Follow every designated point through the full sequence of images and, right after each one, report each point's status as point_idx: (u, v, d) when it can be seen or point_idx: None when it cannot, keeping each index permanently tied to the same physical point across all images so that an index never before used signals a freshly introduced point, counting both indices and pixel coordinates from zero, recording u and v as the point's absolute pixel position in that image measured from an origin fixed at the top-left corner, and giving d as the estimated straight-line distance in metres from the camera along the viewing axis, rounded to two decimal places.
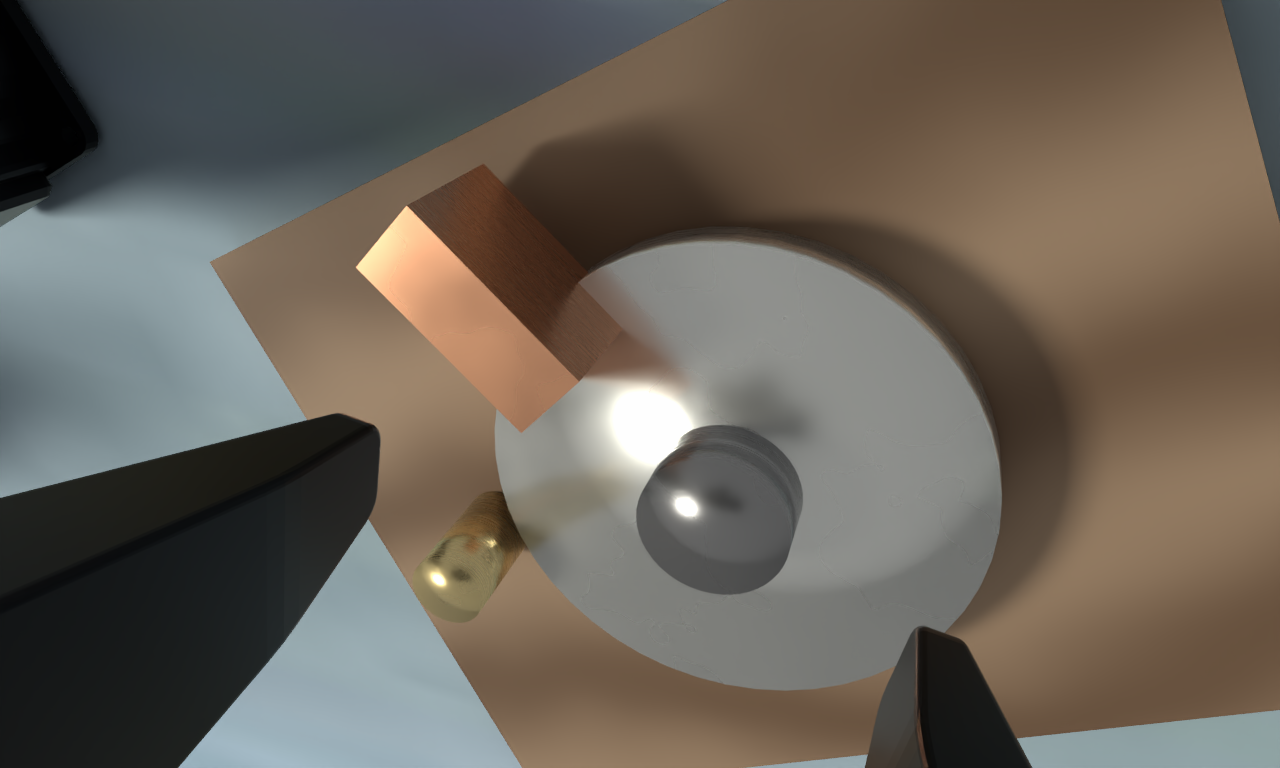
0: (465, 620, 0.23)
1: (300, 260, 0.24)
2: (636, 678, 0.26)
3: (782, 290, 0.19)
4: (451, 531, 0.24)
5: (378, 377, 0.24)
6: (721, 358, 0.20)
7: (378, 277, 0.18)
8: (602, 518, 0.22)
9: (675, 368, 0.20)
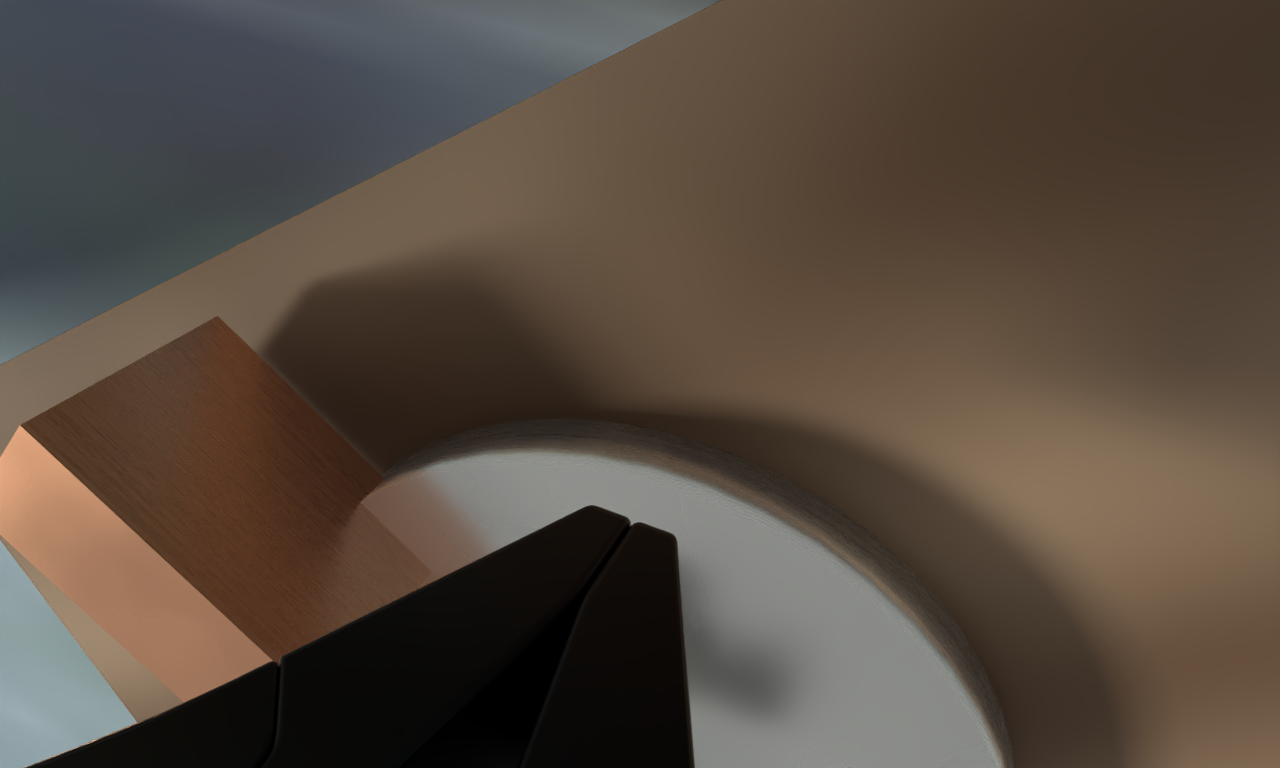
0: None
1: (16, 419, 0.17)
2: None
3: None
4: None
5: None
6: None
7: (4, 524, 0.11)
8: None
9: None
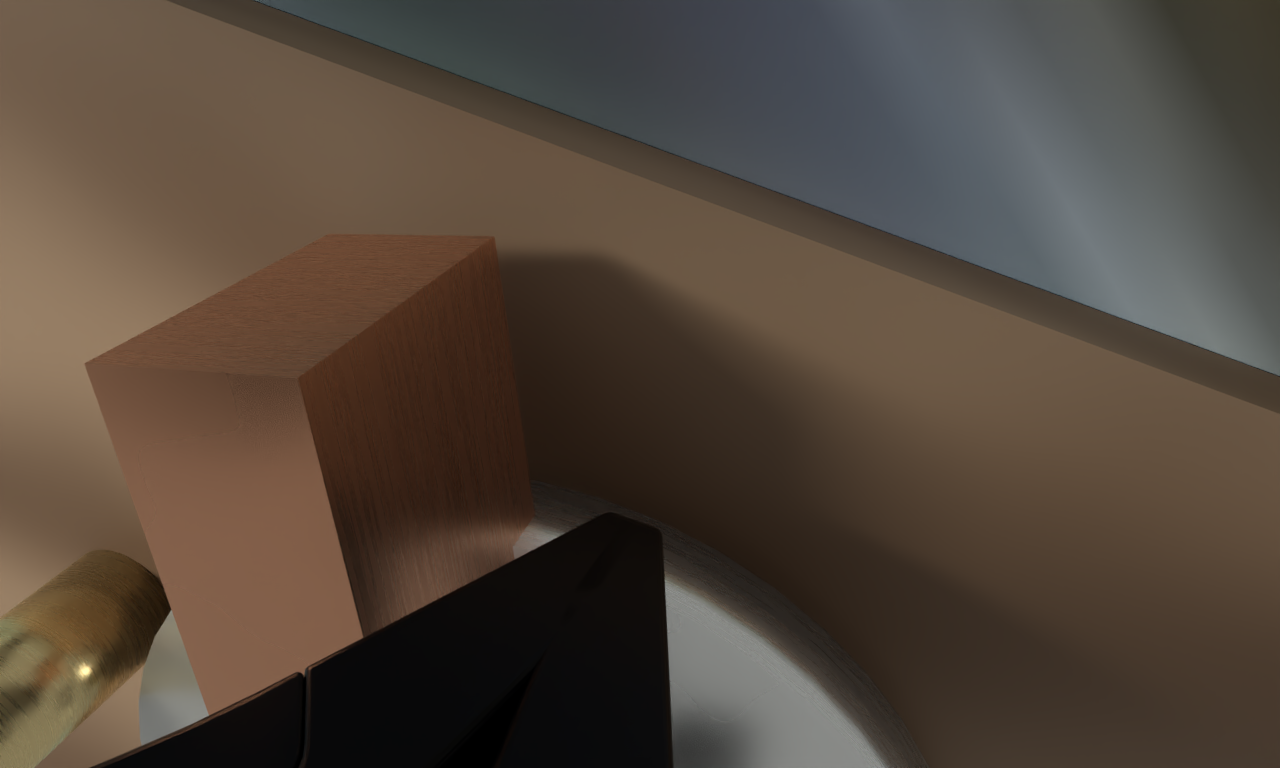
0: None
1: (12, 28, 0.11)
2: None
3: None
4: (21, 633, 0.13)
5: (47, 302, 0.12)
6: None
7: (127, 419, 0.07)
8: None
9: None
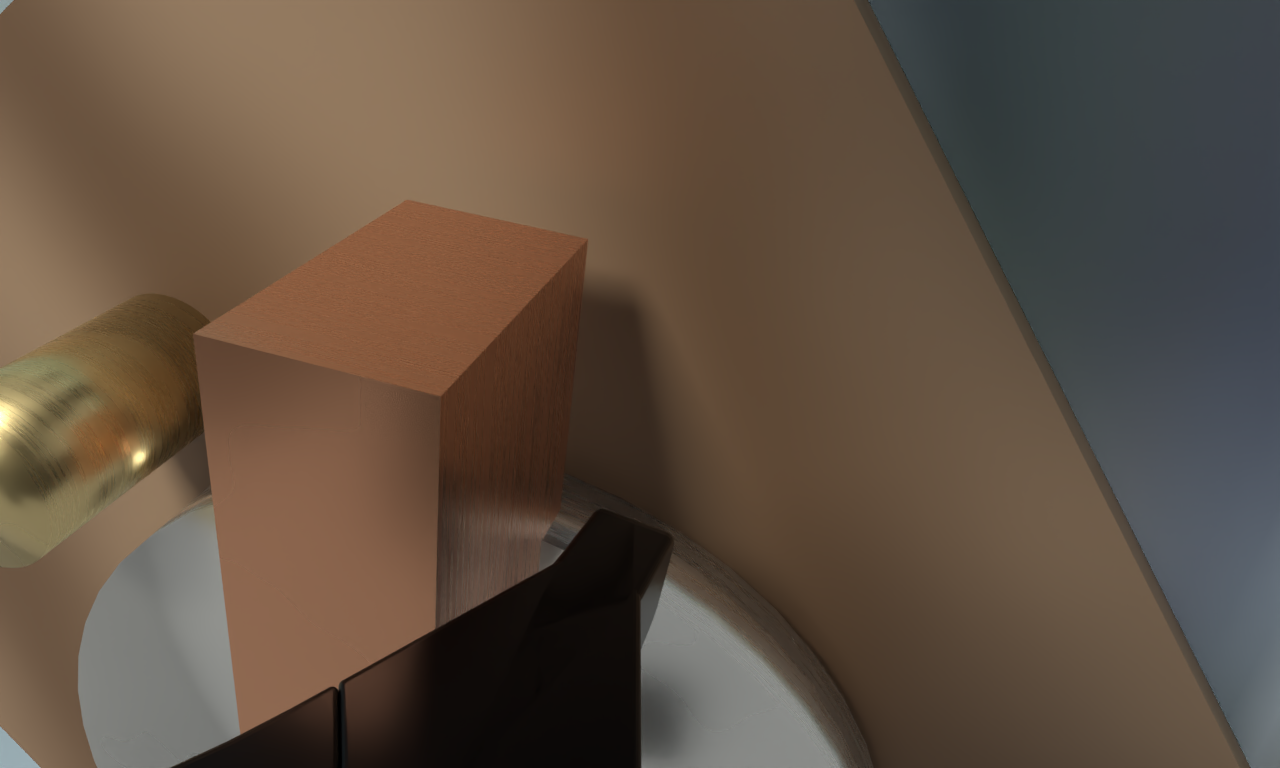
0: None
1: None
2: (14, 571, 0.15)
3: None
4: (110, 397, 0.10)
5: (384, 86, 0.10)
6: None
7: (228, 395, 0.07)
8: (235, 718, 0.13)
9: None
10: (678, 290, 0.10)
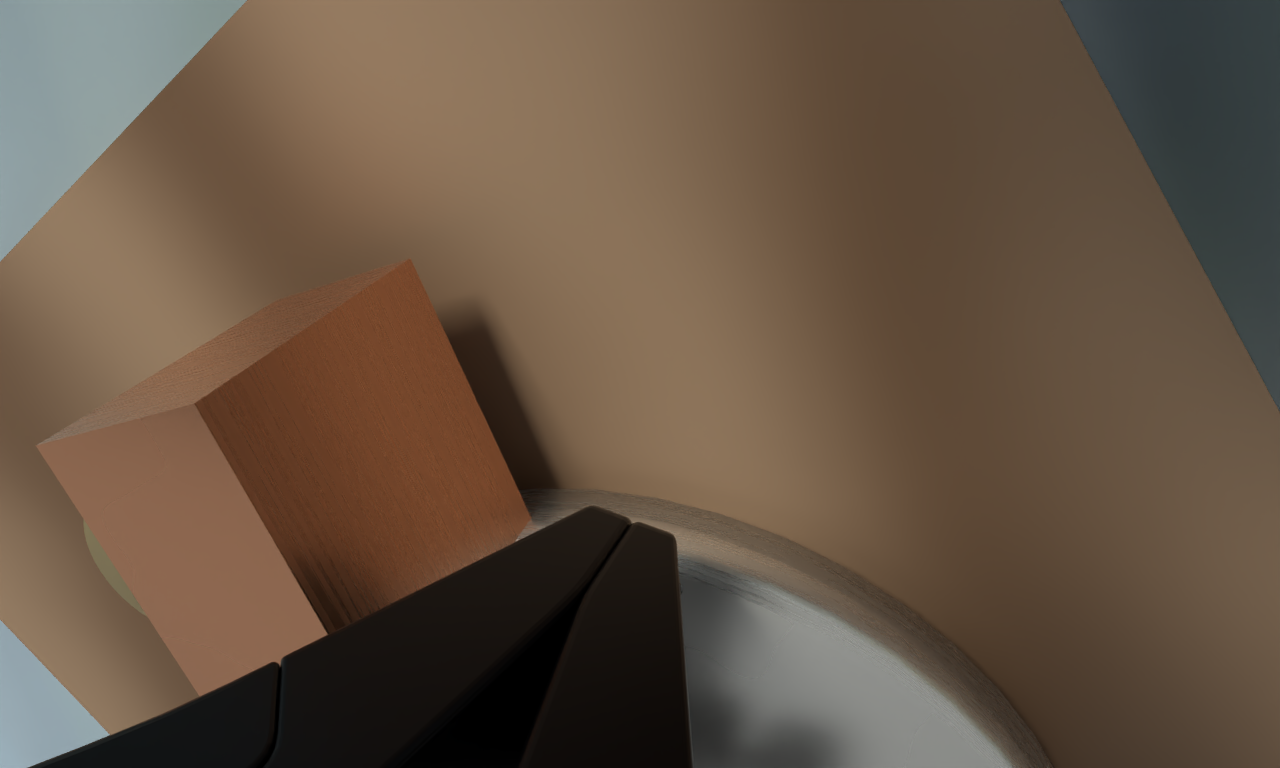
0: (119, 590, 0.10)
1: None
2: None
3: (875, 741, 0.10)
4: None
5: (556, 134, 0.09)
6: (708, 766, 0.11)
7: (83, 486, 0.08)
8: None
9: None
10: (866, 330, 0.09)
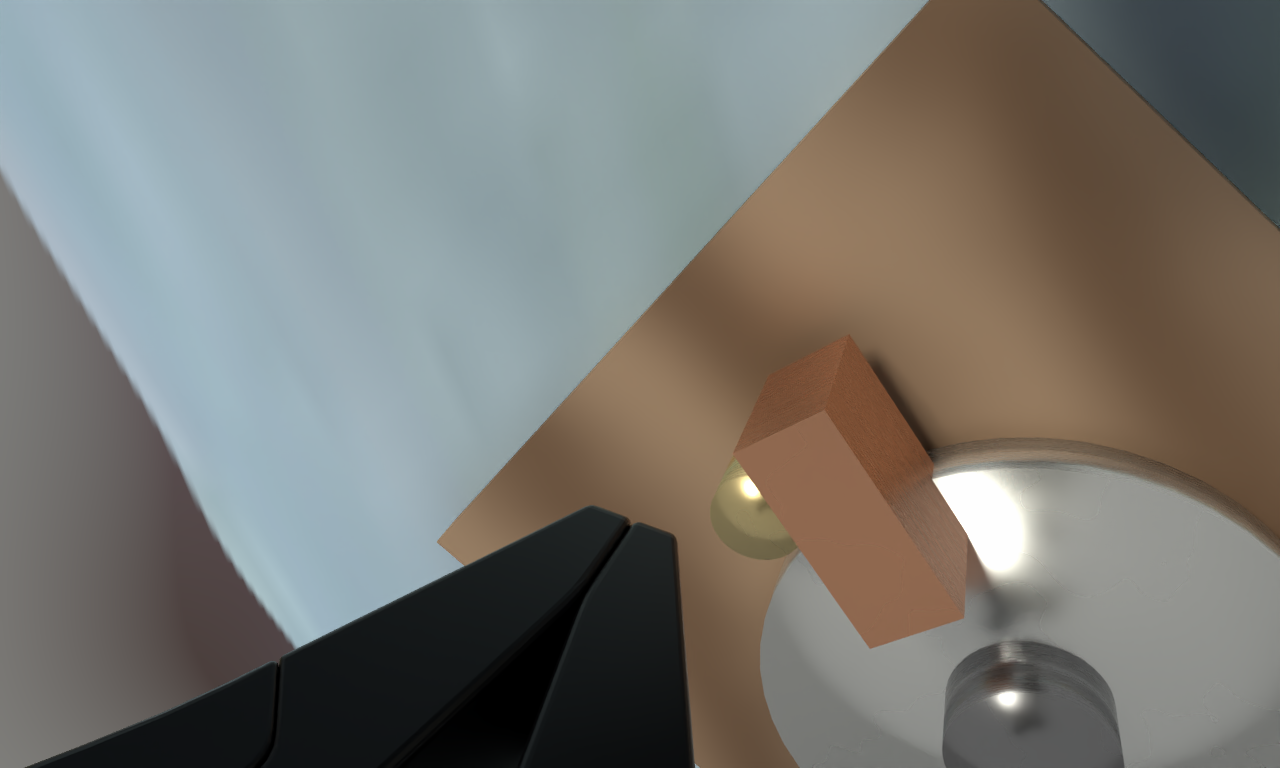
0: (728, 544, 0.18)
1: (1051, 101, 0.16)
2: None
3: (1172, 538, 0.17)
4: None
5: (912, 251, 0.18)
6: (1073, 584, 0.18)
7: (757, 469, 0.16)
8: (867, 700, 0.21)
9: (1014, 582, 0.19)
10: (1107, 313, 0.17)
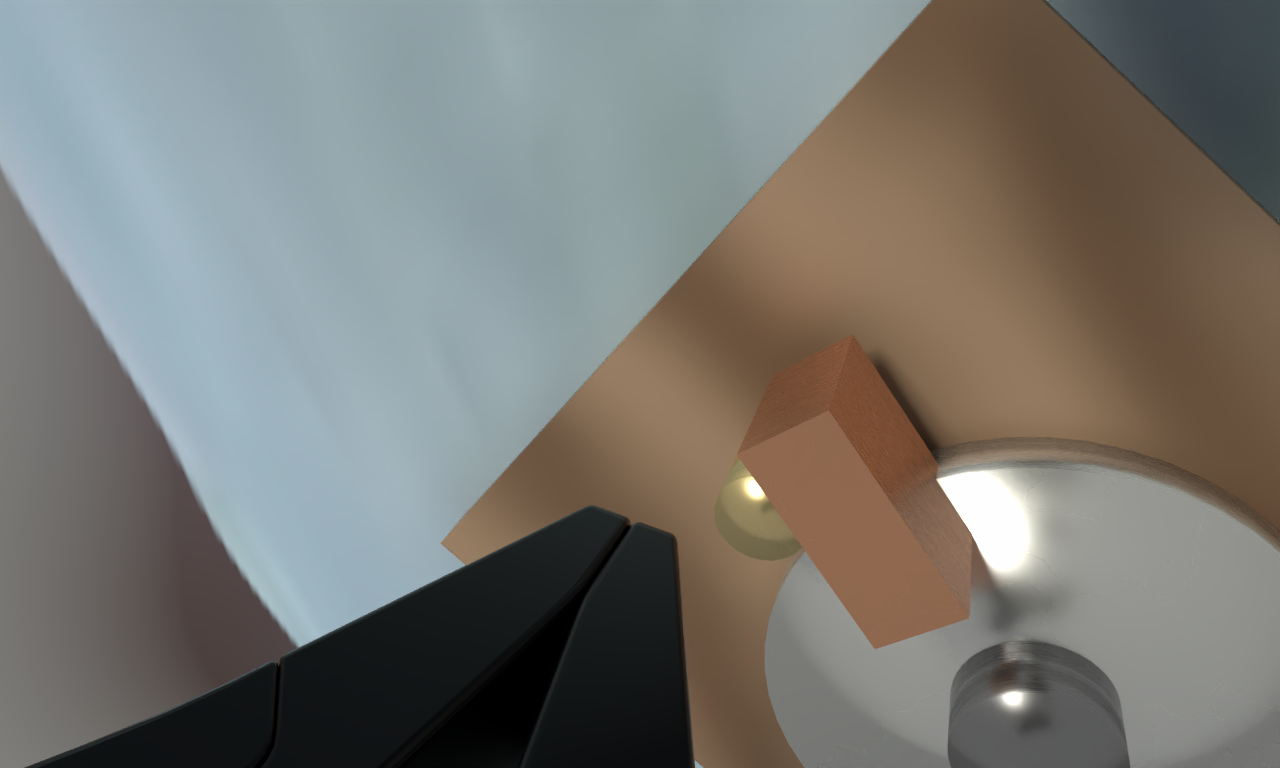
0: (733, 545, 0.18)
1: (1054, 100, 0.16)
2: None
3: (1178, 537, 0.17)
4: None
5: (916, 251, 0.18)
6: (1078, 583, 0.18)
7: (762, 469, 0.16)
8: (872, 700, 0.21)
9: (1019, 582, 0.19)
10: (1112, 312, 0.17)
